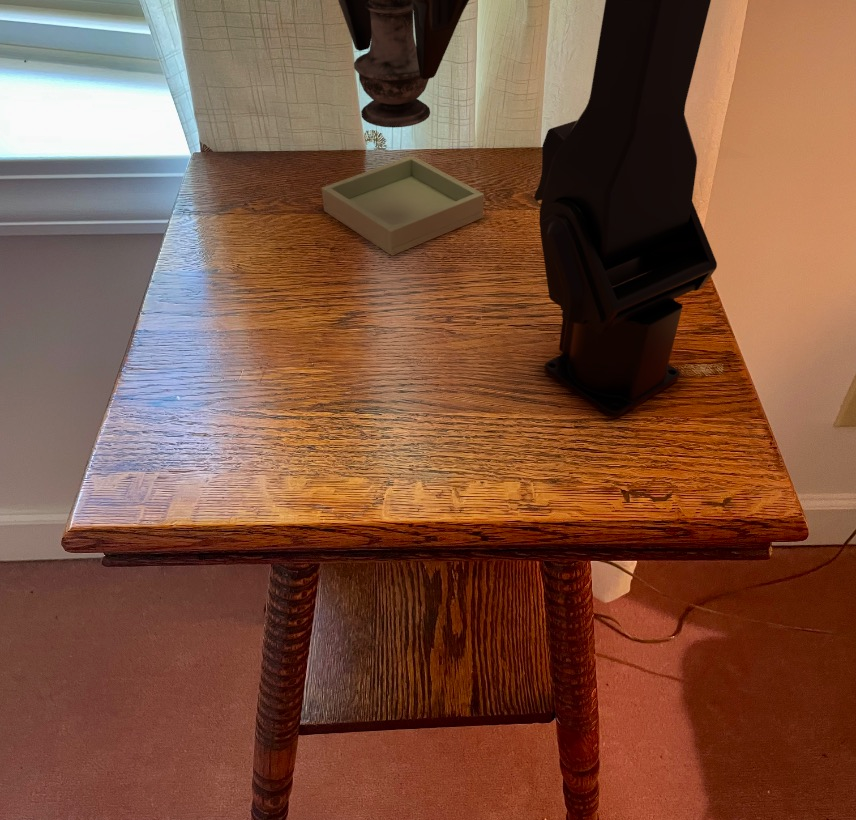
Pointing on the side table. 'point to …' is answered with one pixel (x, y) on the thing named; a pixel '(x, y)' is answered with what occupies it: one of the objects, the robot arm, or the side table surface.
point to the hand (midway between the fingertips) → (393, 63)
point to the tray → (402, 204)
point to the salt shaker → (392, 67)
